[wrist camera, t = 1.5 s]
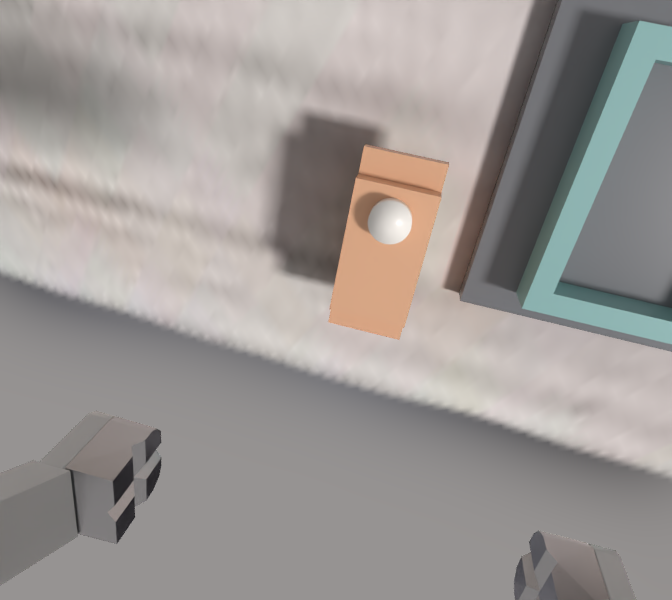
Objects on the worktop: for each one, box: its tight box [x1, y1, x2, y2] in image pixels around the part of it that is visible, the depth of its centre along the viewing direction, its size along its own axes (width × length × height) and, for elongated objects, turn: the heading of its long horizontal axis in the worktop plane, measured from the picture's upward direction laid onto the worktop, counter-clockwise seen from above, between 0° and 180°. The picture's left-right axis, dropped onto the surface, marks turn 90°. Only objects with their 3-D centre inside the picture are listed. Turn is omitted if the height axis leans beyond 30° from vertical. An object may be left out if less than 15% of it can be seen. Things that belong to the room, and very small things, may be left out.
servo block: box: [329, 144, 449, 340], centre depth 26 cm, size 4×10×6 cm, turn 170°
